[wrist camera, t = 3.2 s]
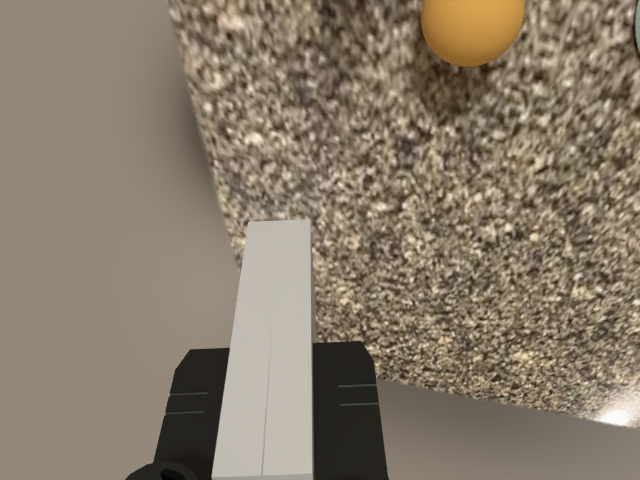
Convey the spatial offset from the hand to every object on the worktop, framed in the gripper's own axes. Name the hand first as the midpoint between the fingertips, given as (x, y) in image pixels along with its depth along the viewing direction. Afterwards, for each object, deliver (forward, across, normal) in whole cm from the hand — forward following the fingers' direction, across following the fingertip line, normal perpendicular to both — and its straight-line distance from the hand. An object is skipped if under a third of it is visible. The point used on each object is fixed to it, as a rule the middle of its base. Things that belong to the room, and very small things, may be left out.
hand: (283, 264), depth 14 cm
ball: (+21, +10, 0) cm, 23 cm away
